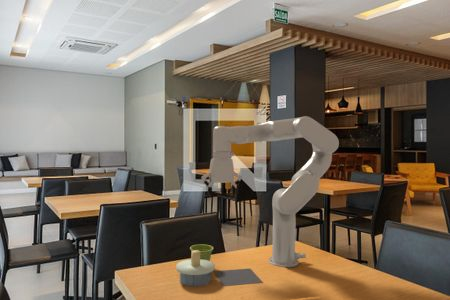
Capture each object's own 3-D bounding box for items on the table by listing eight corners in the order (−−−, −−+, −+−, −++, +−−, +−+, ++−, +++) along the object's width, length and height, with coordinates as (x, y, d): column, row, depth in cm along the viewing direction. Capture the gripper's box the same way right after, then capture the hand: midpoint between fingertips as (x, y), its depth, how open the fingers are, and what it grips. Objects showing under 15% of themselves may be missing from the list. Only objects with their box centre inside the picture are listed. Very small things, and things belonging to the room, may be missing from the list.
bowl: (207, 275, 137) (207, 262, 137) (213, 286, 126) (213, 272, 126) (178, 277, 134) (178, 264, 134) (182, 288, 124) (182, 274, 124)
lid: (210, 260, 139) (210, 245, 139) (218, 273, 125) (218, 256, 125) (174, 263, 135) (174, 247, 135) (178, 276, 122) (178, 258, 122)
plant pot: (214, 265, 148) (214, 244, 148) (211, 273, 138) (211, 251, 138) (192, 264, 149) (192, 243, 148) (187, 272, 139) (187, 250, 139)
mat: (250, 269, 143) (250, 268, 143) (263, 284, 129) (263, 282, 129) (213, 272, 140) (213, 271, 140) (222, 287, 125) (222, 286, 125)
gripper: (239, 155, 157) (238, 194, 157) (200, 155, 152) (199, 195, 153) (244, 156, 149) (243, 196, 150) (203, 155, 145) (203, 198, 145)
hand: (221, 196), depth 151 cm, fingers open, 9 cm apart
